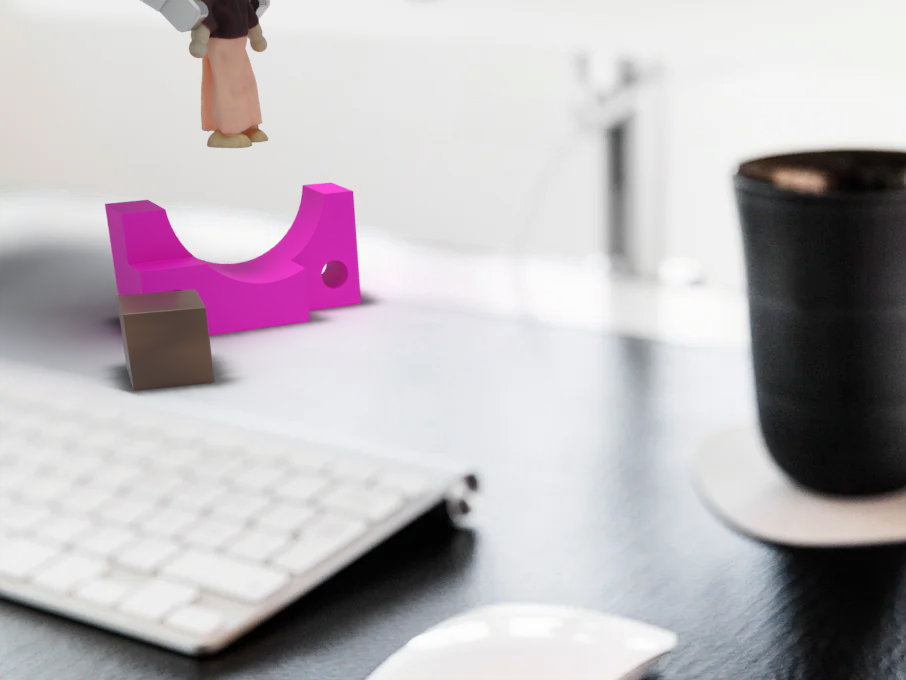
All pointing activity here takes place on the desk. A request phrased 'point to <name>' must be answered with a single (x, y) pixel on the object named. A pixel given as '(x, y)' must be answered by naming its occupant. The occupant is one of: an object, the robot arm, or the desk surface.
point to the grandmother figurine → (229, 73)
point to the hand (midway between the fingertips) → (229, 18)
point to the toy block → (245, 263)
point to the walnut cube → (165, 339)
